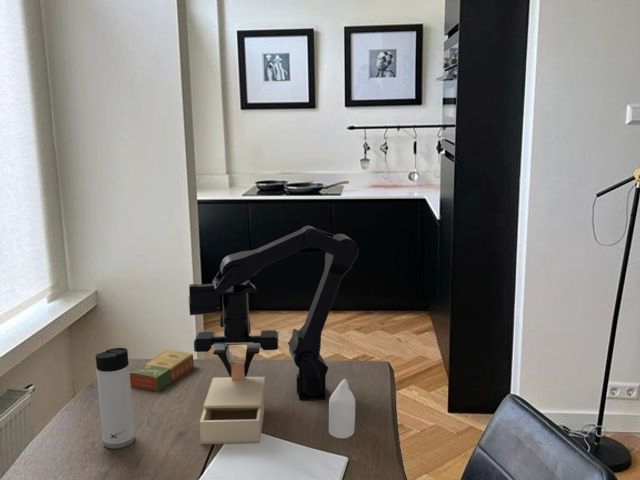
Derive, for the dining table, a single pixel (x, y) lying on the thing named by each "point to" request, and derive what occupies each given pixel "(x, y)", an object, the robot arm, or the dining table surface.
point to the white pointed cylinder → (342, 412)
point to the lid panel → (235, 389)
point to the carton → (161, 370)
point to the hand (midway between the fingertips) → (238, 376)
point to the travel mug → (115, 398)
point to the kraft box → (232, 425)
